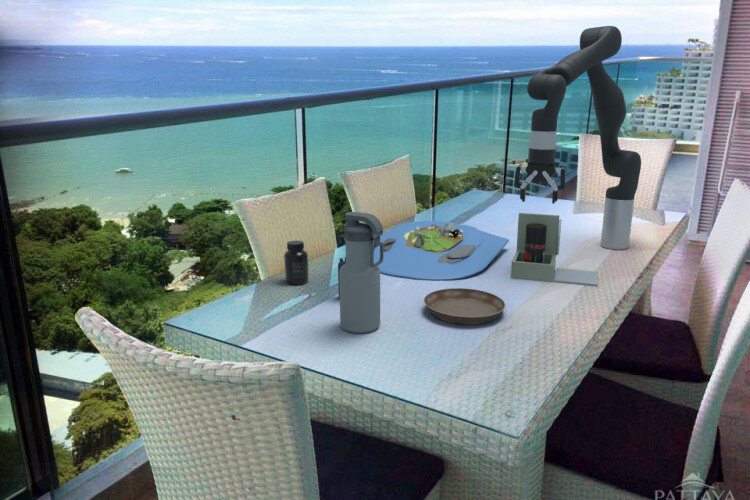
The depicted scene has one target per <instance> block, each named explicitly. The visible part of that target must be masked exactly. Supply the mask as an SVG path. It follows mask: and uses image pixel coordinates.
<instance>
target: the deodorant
mask: <svg viewBox="0 0 750 500" xmlns="http://www.w3.org/2000/svg"><path fill="white" fill-rule="evenodd" d="M546 232H547V226H546V225H544V224H538V223H531V224H527V225H526V238H525V253H524V262H531V263H542V264H544V259H545V245H546Z"/></svg>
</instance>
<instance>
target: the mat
mask: <svg viewBox="0 0 750 500" xmlns="http://www.w3.org/2000/svg"><path fill="white" fill-rule="evenodd" d="M598 274H599V272H598V271H592V270H581V269H571V268H561V267H556V268H555V273H554V278H553V281H554V283H559V284H560V283H561V284H569V285H580V286H587V287H588V286H591V287H598V285H599V281H598V279H599V275H598Z"/></svg>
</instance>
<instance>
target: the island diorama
mask: <svg viewBox="0 0 750 500" xmlns="http://www.w3.org/2000/svg"><path fill="white" fill-rule="evenodd" d="M380 242H383V262H382V263H381V264H379V265H378V267H379V269H380V274H383V275H386V276H391V277H395V278H397V277H398V278H403V279H409V278H410V279H411V280H417V279H418V280H419V281H440V280H444V281H457V280H463V279H465V278H469V277H472V276H475V275H477V274H479V273H481V272H482V271H484V270H485V269H486V268H487V267H488V266H489V264H490V263H491V262H492V261H493V260H494V259H495V258H496V257H497V256H498V255H499V254H500V253H501V252H502V250H503V249H504V248H505V247H506V245H507V244H508V243H509V242H510V239H508V238H505V237H503V236H499V235H496V234H492V233H488V232H486V231H484V230H480V229H478V228H477V227H474V226H471V225H468V224H460V223H457V222H456V223H455V222H452V221H444V220H418V221H410V222H404V223H401V224H400V225H396V226H395V227H393V228H391V229H388V230H387V231H385V232H383V234H382V235H381V236H380ZM373 245H374V241H373ZM379 259H380V246H378V247H376V248H375V250H374V264H375V263H376V262H378V261H379Z"/></svg>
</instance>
